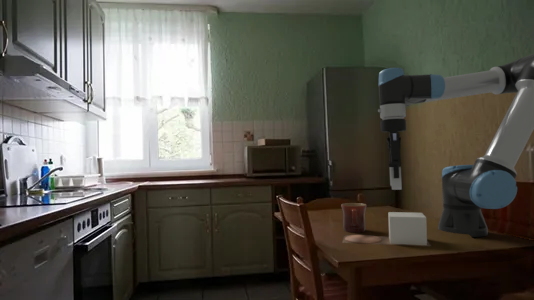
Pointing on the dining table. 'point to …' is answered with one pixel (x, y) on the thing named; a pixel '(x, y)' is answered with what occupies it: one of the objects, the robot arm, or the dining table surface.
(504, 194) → the robot arm
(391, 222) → the white rectangular block
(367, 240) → the board
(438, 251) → the dining table surface
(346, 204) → the mug
